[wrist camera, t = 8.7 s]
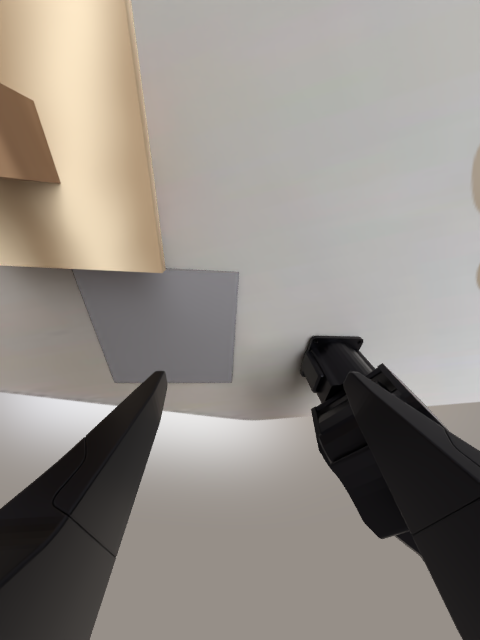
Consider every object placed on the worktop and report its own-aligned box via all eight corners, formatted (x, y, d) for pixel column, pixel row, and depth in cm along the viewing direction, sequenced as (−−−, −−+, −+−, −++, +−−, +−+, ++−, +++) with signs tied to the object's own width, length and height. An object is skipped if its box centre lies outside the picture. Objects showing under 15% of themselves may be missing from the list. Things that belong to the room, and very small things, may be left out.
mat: (238, 272, 19) (238, 273, 18) (231, 379, 27) (231, 382, 26) (74, 263, 18) (70, 265, 17) (116, 379, 25) (114, 382, 25)
